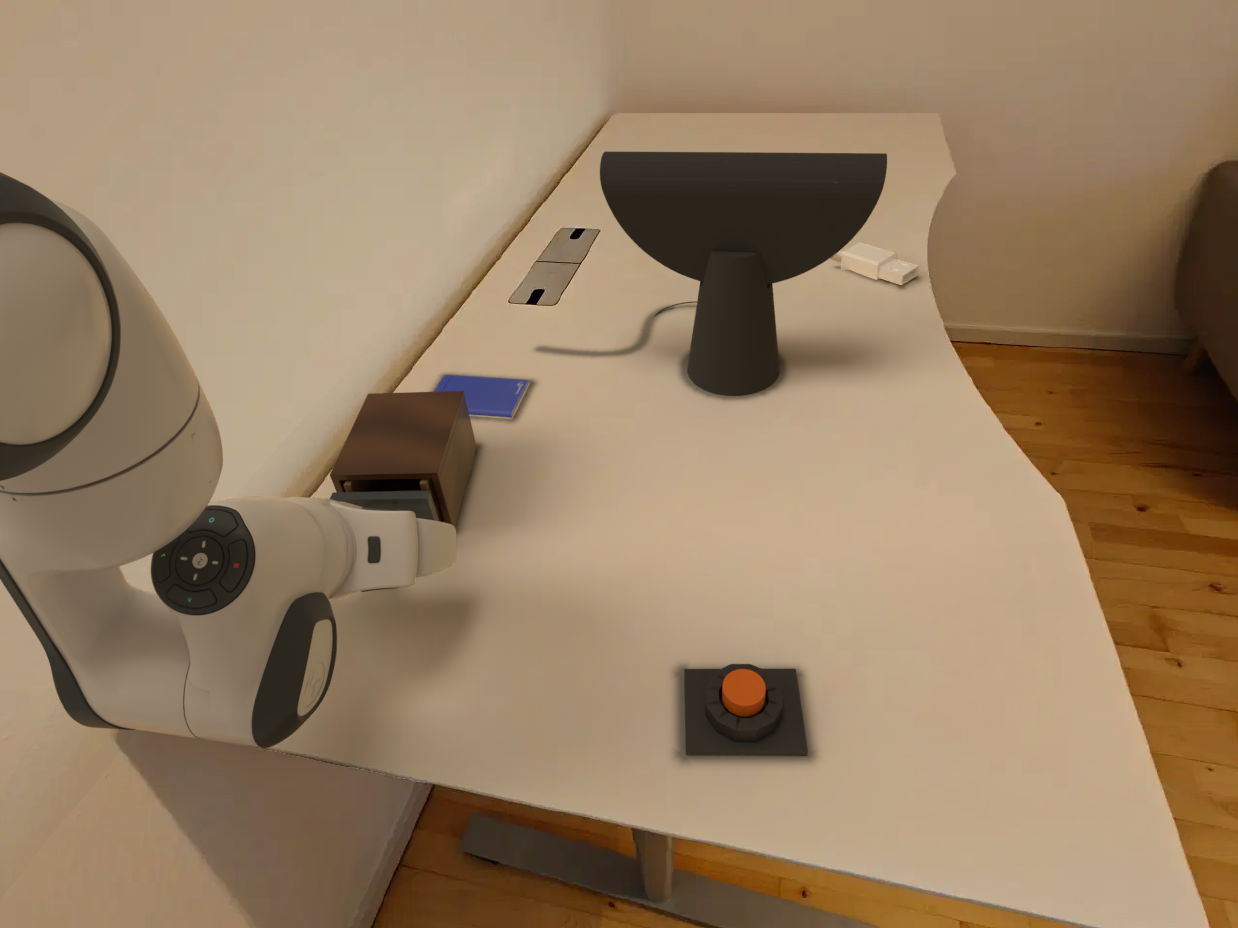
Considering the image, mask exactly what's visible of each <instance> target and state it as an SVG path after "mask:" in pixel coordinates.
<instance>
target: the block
mask: <svg viewBox="0 0 1238 928" xmlns="http://www.w3.org/2000/svg"><path fill="white" fill-rule="evenodd" d="M738 669H748V670H751V671H754V672H756V673H757V674H758V675H760V676H761V678H762V679H763V680H764V682H765V686H766V693H765V703H764V706H763V708H762V710H761V711H760V712H759V713H757V714H756V715H754V716H751V717H739V716H736V715H734V714H732V713H731V712H729V711H728V710H727V709H726V707H725V706H724V704H723V700H722V687H723V681H724V679H725V677H726V676H727V675H728V674H729V673H730V672H732V671H734V670H738ZM797 675H798V674H797V669H796V668H761V667H758V666H757V665H754V664H751V663H730V664H728V665H726V666H724V667H722V668H684V669H683V678H684V679H683V683H684V726H685V727H684V728H685V755H686V756H750V757H751V756H759V757H760V756H763V757H764V756H766V757H768V756H771V757H773V756H774V757H777V756H778V757H780V756H781V757H783V756H784V757H803V756H804V757H806V756H807V755H808V744H807V738H806V730H805V723H804V718H803V717H804V716H803V709H802V702H801V696H800V689H799V681H798V676H797Z"/></svg>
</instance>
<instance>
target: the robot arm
mask: <svg viewBox="0 0 1238 928" xmlns="http://www.w3.org/2000/svg"><path fill="white" fill-rule="evenodd" d="M178 339H179V338H178V337H177V336H176V334H175V332H174V330H173V329H172V327H171V325H170V323H169V322H168V319H166V317H165V315H164V314H163V312H162V310H161V309H160V307H159V306H158V304H157V302H155V300H154V298H153V296H152V295H151V294H150V292H149V291H148V289H147V288H146V286H145V285H144V284H143V282H142V281H141V279H140V278H139V276H138V275H137V274H136V272H135V271H134V270H133V268H132V267H131V265H130V264H129V262H128V261H127V260H126V258H125V257H124V256H123V255H122V253H121V252H120V250H119V249H118V248H117V247H116V246H115V244H114V243H113V242H112V240H111V239H110V238H109V237H108V235H107V234H106V233H105V232H104V231H103V230H102V229H101V228H100V227H99V226H98V225H97V224H96V223H94V222H93V221H92V220H91V219H90V218H88V217H87V216H86V215H84V214H83V213H81V212H79V211H78V210H76V209H74V208H73V207H70V206H69V205H67V204H65V203H62V202H59V201H57V200H54V199H52V198H49V197H47V196H46V195H45V194H43V193H41V192H40V191H38V190H37V189H35V188H33V187H32V186H30V185H29V184H26V183H23V182H22V181H20V180H18V179H16V178H14V177H12V176H10V175H8V174H6V173H4V172H1V171H0V581H1V583H2V585H3V586H4V588H5V589H6V591H7V593H8V594H9V595H10V597H11V599H12V600H13V602H14V603H15V605H16V606H17V608H18V610H19V611H20V613H21V615H22V616H23V618H24V619H25V621H26V622H27V623H28V625H29V626H30V629H31V630H32V631H33V633H34V634H35V636H36V638H37V639H38V641H39V643H40V644H41V646H42V648H43V650H44V653H45V655H46V657H47V660H48V663H49V667H50V670H51V671H50V672H51V676H52V681H53V684H54V688H55V691H56V695H57V696H58V699H59V702H60V703H61V705H62V707H63V709H64V710H65V712H66V714H67V715H68V716H69V717H70V718H71V719H72V720H74V721H75V722H77V723H78V724H79V725H81V726H83V727H86V728H94V729H111V730H123V731H124V730H125V731H136V730H137V731H142V732H149V733H150V732H151V733H155V734H156V733H157V734H163V735H169V736H170V735H171V736H176V737H182V738H189V739H196V740H201V741H212V742H217V743H225V744H232V745H239V746H247V747H253V748H254V747H255V748H261V749H269V748H271V747H274V746H276V745H279V744H280V743H282V742H284V740H286V739H288V738H289V737H291V736H292V735H293V734H294V733H295V732H297V731H298V730H299V729H300V728H301V726H303V725H304V724H305V723H306V722H307V721H308V720H309V718H310V717H311V716H312V715H313V714H314V713H315V712H316V710H318V707H320V705H321V703H322V702H323V701H324V699H325V697H326V695H327V692H328V691H329V688H330V686H331V682H332V679H333V676H334V670H335V664H336V659H337V652H338V629H337V621H336V618H335V614H334V611H333V607H332V604H331V602H330V601H333V600H339V599H343V598H345V597H348V596H351V595H353V594H356V593H359V592H361V593H365V592H371V591H382V590H393V589H394V590H395V589H400V588H408V587H412V586H414V585H415V584H416V582H417V578H419V577H425V576H429V575H432V574H435V573H438V572H442V571H443V570H445V569H447V568H450V567H452V566H454V564H455V563H456V560H457V551H458V549H457V547H458V546H457V545H458V543H457V542H458V541H457V539H458V538H457V530H456V526H455V527H454V526H453V525H451V524H448V523H445V522H439V521H434V520H428V519H420V518H416V515H415V513H414V512H413V511H401V510H389V509H376V508H368V507H360V506H357V505H353V504H350V503H346V502H340V501H336V500H332V499H330V498H326V497H325V498H324V497H305V496H304V497H303V496H290V497H282V496H275V495H240V496H231V497H224V498H218V499H215V500H212V498H213V496H214V494H215V492H216V489H217V488H218V485H219V482H220V479H221V475H222V471H223V466H224V449H223V440H222V436H221V432H220V428H219V425H218V421H217V419H216V416H215V413H214V410H213V409H212V406H211V403H210V401H209V400H208V398H207V396H206V393H205V391H204V390H203V388H202V385H201V383H200V381H199V379H198V376H197V375H196V372H195V370H194V367H192V364H191V362H190V360H189V358H188V356H187V354H186V352H185V350H184V348H183V346H182V345H181V343H180V341H179V340H178ZM150 555H151V559H150V578H151V579H150V580H151V584H152V586H153V589H154V591H155V592H151V591H147V590H144V589H141V588H139V587H136V586H134V585H132V584H131V583H129V582H128V581H127V579H126V577H125V575H124V572H123V570H122V568H121V567H122V566H125V565H128V564H132V563H134V562H137V561H139V560H142V559H144V558H146V557H148V556H150Z"/></svg>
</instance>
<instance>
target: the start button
mask: <svg viewBox="0 0 1238 928" xmlns="http://www.w3.org/2000/svg"><path fill="white" fill-rule="evenodd" d="M765 693H766V686H765V682H764V680H763V679H762V678H761V676H760V675H758V674H757V673H756V672H754V671H751V670H748V669H738V670H734V671H732V672H730V673H729V674H728V675H727V676H726V677H725V679H724V681H723V687H722V700H723V704H724V706H725V707H726V709H727V710H728V711H729V712H731V713H732V714H734V715H736V716H739V717H751V716H754V715H756V714H757V713H759V712H760V711H761V710H762V708H763V706H764V703H765Z"/></svg>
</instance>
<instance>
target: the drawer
mask: <svg viewBox="0 0 1238 928" xmlns="http://www.w3.org/2000/svg"><path fill="white" fill-rule="evenodd" d="M344 487H345V490H346V492H332V493H331V494H330V497H329V499H332V500H336V501H340V502H346V503H350V504H353V505H357V506H360V507H368V508H376V509H389V510H401V511H413V512H414V513H415V515H416V518H420V519H428V520H434V521H439V522H444V518H443V515H442V511H441V508H440V505H439V501H438V498H437V494H436V491H435V488H434V484H433V481H432V478H425V479H377V480H346V481H345V483H344ZM444 523H445V522H444Z"/></svg>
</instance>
